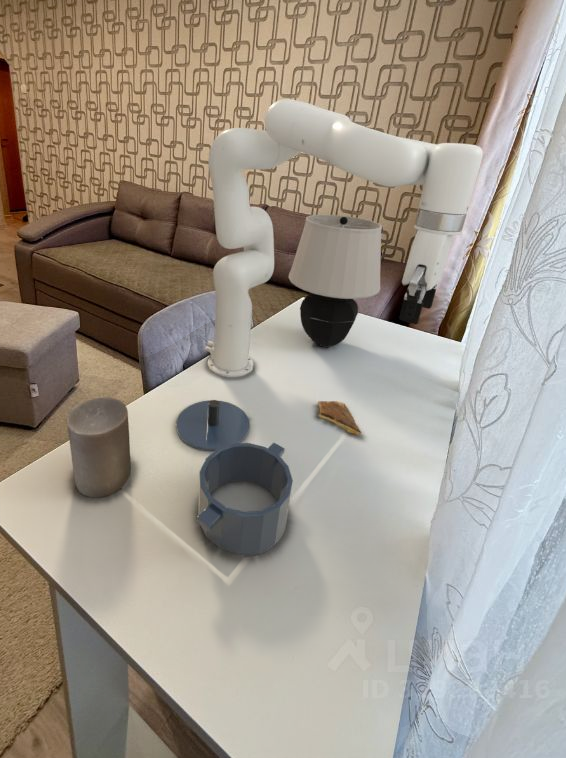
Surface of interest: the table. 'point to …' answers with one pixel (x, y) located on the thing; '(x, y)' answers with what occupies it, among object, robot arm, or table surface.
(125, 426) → the pillar candle
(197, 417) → the lid
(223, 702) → the table surface
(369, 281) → the table lamp
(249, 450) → the pot
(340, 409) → the cake slice
